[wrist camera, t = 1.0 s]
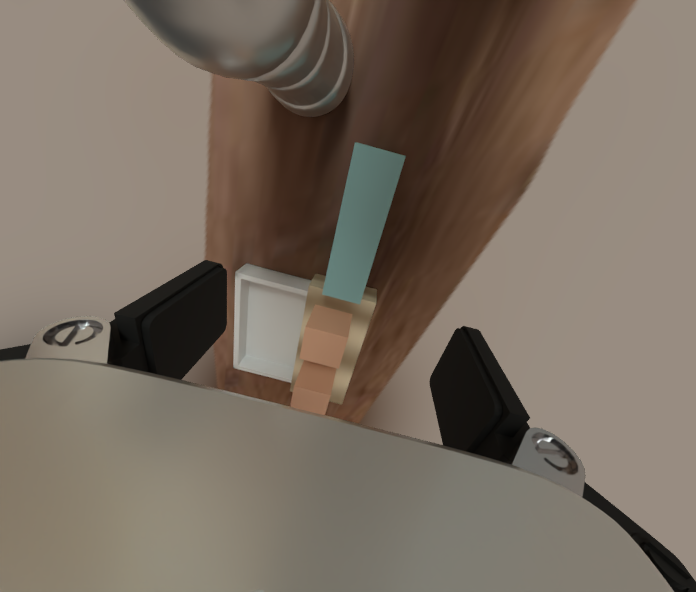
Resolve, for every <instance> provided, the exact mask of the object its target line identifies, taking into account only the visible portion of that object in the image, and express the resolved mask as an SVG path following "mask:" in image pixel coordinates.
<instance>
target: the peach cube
mask: <svg viewBox="0 0 696 592" xmlns="http://www.w3.org/2000/svg"><path fill="white" fill-rule="evenodd" d="M335 373H336V368H333V367H329V366H326V365H322V364H318V363H314V362H310V361H306V360H304V361H303V364H302V366H301V369H300V372H299V374H298V377H297V380H296V382H295V385H294V389H293V394H292V400H291V405H290V407H294V408H298V409H302V410H306V411H310V412H314V413H318V414H322V415H325V413H326V410H327V406H328V403H329V400H330V396H331V392H332V387H333V382H334V378H335Z"/></svg>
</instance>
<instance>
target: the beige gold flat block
mask: <svg viewBox="0 0 696 592" xmlns="http://www.w3.org/2000/svg"><path fill="white" fill-rule="evenodd" d="M325 278H326V276H324V275H320V274H316V273H315V275H314V277H313V279H312V281H311V282H310V284H309V288H308V293H307V299H306V304H305V310H304V315H303V321H302V326H301V332H300V337H299V343H298V348H297V354H296V359H295V365H294V370H293V376H292V381H291V387H290V391H291V392H293V389H294V385H295V382H296V380H297V377H298V374H299V372H300V369H301V366H302V364H303V361H304V360H303V359H299V358H300V352H301V347H302V342H303V337H304V331H305V326H306V324H307V322H308V320H309V317H310V315H311V313H312V311H313V308H314V306H315V304H316V305H320V306H324V307H327V308H331V309H335V310H339V311H343V312H346V313H350V314H352V319H351V325H350V330H349V336H348V340H347V343H346V347H345V350H344V353H343V356H342V360H341V363H340V366H339V369H338V368H336V373H335V378H334V382H333V387H332V392H331V396H330V400H329V401H330V402H334V403H337V404H341V405H342V402H343V400H344V397H345V394H346V391H347V388H348V385H349V382H350V379H351V376H352V373H353V370H354V367H355V364H356V361H357V359H358V356H359V353H360V350H361V347H362V344H363V341H364V338H365V335H366V332H367V329H368V326H369V323H370V320H371V318H372V315H373V312H374V309H375V306H376V301H377V289H373V288H369V287H365V290H364V293H363V296H362V300H361V303H360V304H356V303H352V302H349V301H345V300H341V299H337V298H334V297H330V296H326V295H322V292H323V287H324V283H325ZM306 361H307V360H306ZM310 362H311V361H310ZM329 367H330V366H329ZM333 368H334V367H333Z"/></svg>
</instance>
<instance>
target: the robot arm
mask: <svg viewBox="0 0 696 592" xmlns="http://www.w3.org/2000/svg"><path fill="white" fill-rule="evenodd" d="M114 315H115V319H114V320H113V321H111V322H108V321H106V320H105V319H102V318H99V317H91V316H84V317H75V318H68V319H64V320H61V321H57V322H55V323H52V324H50V325H48V326H46V327H44V328H43V329H42V330H40V331H39V332H38V333H37V334H36V335H35V337H34V338H33V341H32V343H31V344H29V345H24V346H18V347H13V348H7V349H1V350H0V592H696V581H695V580H694V579H693V577H692V576H691V575H690V573H689V572H688V571H687V569H686V568H685V566H684V565H683V564H682V563H681V562H680V560H679V559H678V558H677V557H676V556H675V555H674V554H673V553H671V552H670V551H669V550H668V549H666V548H665V547H664V546H663V545H662V544H661V543H659V542H658V541H657V540H656V539H655V538H653V537H652V536H651V535H650V534H648V533H647V532H646V531H645V530H643V529H642V528H641V527H640V526H639V525H637V524H636V523H635V522H634V521H632V520H631V519H630V518H629V517H627V516H626V515H625V514H624V513H622V512H621V511H620V510H619V509H617V508H616V507H615V506H613V505H612V504H611V503H610V502H609V501H608V500H606V499H605V498H604V497H603V496H601V495H600V494H599V493H598V492H596V491H595V490H594V489H593V488H591V487H590V486H589V485H588V484H586V483H585V469H584V466H583V464H582V462H581V460H580V459H579V457H578V456H577V455H576V453H575V452H574V451H573V450H572V449H571V448H570V447H569V446H568V445H567V444H566V443H565V442H564V441H562V440H561V439H560V438H558V437H557V436H555V435H554V434H552V433H550V432H548V431H546V430H543V429H540V428H530V427H529V425H528V424H527V421H528V420H529V418H530V417H529V415H528V414H527V412H526V410H525V408H524V407H523V405H522V403H521V402H520V400H519V398H518V396H517V395H516V393H515V391H514V389H513V388H512V386H511V384H510V382H509V381H508V379H507V378H506V376H505V374H504V372H503V370H502V369H501V367H500V365H499V364H498V362H497V360H496V358H495V357H494V355H493V353H492V351H491V350H490V348H489V346H488V344H487V343H486V341H485V339H484V338H483V336H482V334H481V332H480V331H479V330H477V329H473V328H469V327H465V326H463V327H461V328H460V329H459V328H458V329H456V330H455V332H454V334H453V336H452V337H451V340H450V341H449V343H448V345H447V347H446V349H445V351H444V353H443V354H442V356H441V358H440V360H439V362H438V364H437V366H436V367H435V369H434V371H433V373H432V375H431V378H430V388H431V392H432V397H433V401H434V405H435V410H436V415H437V419H438V424H439V428H440V433H441V438H442V442H443V445H439V444H436V443H432V442H428V441H424V440H420V439H416V438H412V437H408V436H405V435H401V434H397V433H393V432H388V431H385V430H381V429H377V428H373V427H369V426H365V425H362V424H358V423H354V422H350V421H346V420H342V419H338V418H334V417H330V416H326V415H322V414H318V413H314V412H310V411H306V410H302V409H298V408H294V407H289V406H285V405H281V404H277V403H273V402H269V401H265V400H261V399H257V398H253V397H249V396H245V395H241V394H237V393H232V392H228V391H224V390H220V389H216V388H212V387H208V386H204V385H199V384H196V383H191V382H187V381H183V380H181V379H182V378H183V377H184V376H185V374H187V373H188V372H189V370H190V369H191V368H192V367H193V366H194V365H195V364H196V363H197V361H198V360H199V359H200V358H201V357H202V356H203V355H204V354H205V352H206V351H207V350H208V349H209V348H210V347H211V346H212V345H213V344H214V343H215V341H216V340H217V339H218V338H219V337H220V336H221V335H222V334H223V332H224V331H225V329H226V325H227V271H226V269H224V268H223V266H222V264H219V263H215V262H212V261H208V260H205V261H203V262H201V263H199V264H198V265H196V266H194V267H192V268H191V269H189V270H187V271H186V272H184V273H182V274H180V275H179V276H177V277H175V278H174V279H172V280H170V281H168V282H167V283H165V284H163V285H162V286H160V287H158V288H157V289H155V290H153V291H151V292H150V293H148V294H146V295H144V296H143V297H141V298H139V299H138V300H136V301H134V302H132V303H131V304H129V305H127V306H126V307H124V308H122V309H120V310H119V311H117V312H115V313H114Z"/></svg>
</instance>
